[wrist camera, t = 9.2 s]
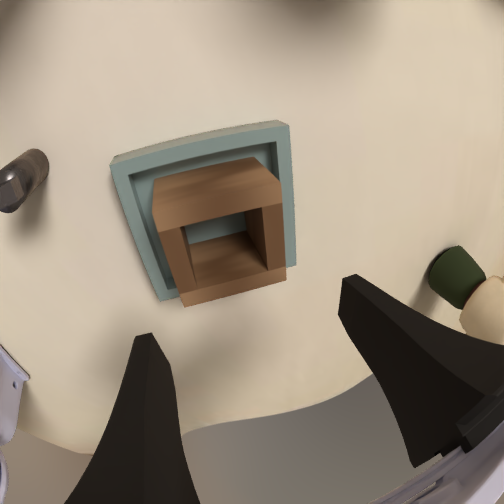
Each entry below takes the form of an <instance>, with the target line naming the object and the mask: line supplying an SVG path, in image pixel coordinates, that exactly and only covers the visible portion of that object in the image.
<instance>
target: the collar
mask: <svg viewBox="0 0 504 504" xmlns="http://www.w3.org/2000/svg"><path fill="white" fill-rule="evenodd" d="M243 211H244V215H245V222H246V229H247V230H245V231H241V232H237V233H233V234H229V235H225V236H221V237H217V238H213V239H209V240H205V241H201V242H197V243H193V244H189V242H188V239H187V235H186V231H185V227H184V226H185V225H189V224H193V223H197V222H201V221H205V220H209V219H213V218H217V217H222V216H226V215H230V214H234V213H238V212H243ZM152 214H153V218H154V221H155V224H156V227H157V231H158V234H159V237H160V240H161V243H162V246H163V249H164V252H165V255H166V258H167V261H168V264H169V267H170V270H171V273H172V275H173V278H174V281H175V284H176V287H177V289H178V292H179V295H180V297H181V300H182V303H183V305H184V307H188V306H192V305H196V304H200V303H204V302H208V301H212V300H216V299H219V298H223V297H227V296H231V295H235V294H238V293H242V292H246V291H249V290H253V289H257V288H260V287H264V286H268V285H271V284H275V283H278V282H282V281H285V280H286V258H285V238H284V220H283V203H282V188H281V182H280V181H279V180H278V179H277V178H276V177H275V176H274V175H273V174H272V173H271V172H270V171H268V170H267V169H266V168H265V167H264V166H263V165H262V164H261V163H260V162H259V161H258V160H257V159H256V158H255V157H248V158H243V159H238V160H233V161H228V162H223V163H218V164H214V165H209V166H204V167H200V168H196V169H191V170H187V171H183V172H179V173H175V174H171V175H167V176H163V177H159V178H156V179H154V188H153V204H152Z"/></svg>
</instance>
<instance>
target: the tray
mask: <svg viewBox="0 0 504 504" xmlns="http://www.w3.org/2000/svg"><path fill="white" fill-rule="evenodd" d="M248 157H255V158H256V159H257V160H258V161H259V162H260V163H261V164H262V165H263V166H264V167H265V168H266V169H267V170H268V171H270V172H271V173H272V174H273V175H274V176H275V177H276V178H277V179H278V180H279V181H280V182H281V188H282V203H283V220H284V238H285V258H286V268H288V267H291V266H295V265H296V238H295V213H294V192H293V174H292V158H291V144H290V130H289V125H288V124H286V123H283V122H281V121H279V120H273V121H266V122H259V123H253V124H247V125H241V126H235V127H229V128H224V129H219V130H214V131H209V132H204V133H200V134H195V135H191V136H186V137H182V138H178V139H174V140H170V141H166V142H162V143H158V144H155V145H151V146H147V147H144V148H140V149H137V150H133V151H130V152H127V153H123V154H120V155H117V156H114V158H113V160H112V162H111V163H110V165H109V166H110V169H111V173H112V176H113V179H114V182H115V185H116V189H117V192H118V195H119V198H120V201H121V204H122V207H123V209H124V212H125V215H126V218H127V221H128V224H129V226H130V229H131V232H132V234H133V237H134V240H135V242H136V245H137V248H138V250H139V253H140V255H141V258H142V260H143V263H144V265H145V268H146V270H147V273H148V275H149V277H150V280H151V282H152V284H153V287H154V289H155V291H156V294H157V296H158V298H159V300H160V301H164V300H168V299H172V298H176V297H180V295H179V292H178V289H177V287H176V284H175V281H174V278H173V275H172V273H171V270H170V267H169V264H168V261H167V258H166V255H165V252H164V249H163V246H162V243H161V240H160V237H159V234H158V231H157V227H156V224H155V221H154V218H153V214H152V204H153V188H154V179H156V178H159V177H163V176H167V175H171V174H175V173H179V172H183V171H187V170H191V169H196V168H200V167H204V166H209V165H214V164H218V163H223V162H228V161H233V160H238V159H243V158H248ZM184 227H185V231H186V235H187V239H188V242H189V244H193V243H197V242H201V241H205V240H209V239H213V238H217V237H221V236H225V235H229V234H233V233H237V232H241V231H245V230H247V229H246V222H245V215H244V211H243V212H238V213H234V214H230V215H226V216H222V217H217V218H213V219H209V220H205V221H201V222H197V223H193V224H189V225H185V226H184Z"/></svg>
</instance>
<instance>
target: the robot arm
mask: <svg viewBox="0 0 504 504" xmlns="http://www.w3.org/2000/svg"><path fill="white" fill-rule="evenodd" d="M338 316H339V318H340V320H341V322H342V324H343V326H344V328H345V330H346V332H347V334H348V336H349V337H350V339H351V340H352V342H353V343H354V345H355V346H356V348H357V349H358V351H359V353H360V354H361V355H362V357H363V358H364V360H365V362H366V363H367V365H368V366H369V368H370V369H371V371H372V372H373V374H374V375H375V377H376V378H377V380H378V382H379V383H380V385H381V387H382V389H383V391H384V393H385V395H386V397H387V400H388V402H389V404H390V406H391V408H392V411H393V413H394V415H395V418H396V420H397V423H398V425H399V428H400V431H401V433H402V436H403V439H404V442H405V445H406V448H407V452H408V455H409V459H410V462H411V464H412V465H413V467H414V468H416V467H418V466H419V465H421V464H423V463H425V462H426V461H428V460H429V459H431V458H433V457H434V456H436V455H437V454H439V453H441V455H442V456H443V458H442V459H441V460H439V461H438V462H436V463H435V464H433V465H432V466H430V467H429V468H428V469H426V470H425V471H423V472H422V473H420V474H418V475H417V476H416V477H414V478H412V479H411V480H409V481H407V482H406V483H404V484H402V485H401V486H399V487H397V488H396V489H394V490H392V491H390V492H388V493H387V494H385V495H383V496H381V497H379V498H377V499H376V500H373V501H371V502H370V503H367V504H401V503H403V502H405V501H406V500H408V499H410V498H411V497H413V496H414V497H413V498H412V499H410V500H409V501H408V502H406V503H405V504H495V502H496V501H497V500H498V498H499V497H500V496H501V495H502V493H503V492H504V345H501V344H496V343H492V342H488V341H485V340H481V339H478V338H475V337H472V336H469V335H466V334H463V333H461V332H458V331H456V330H453V329H451V328H448V327H446V326H444V325H442V324H440V323H438V322H436V321H434V320H432V319H430V318H428V317H426V316H424V315H422V314H420V313H419V312H417V311H415V310H413V309H412V308H410V307H408V306H406V305H405V304H403V303H401V302H400V301H398V300H397V299H395V298H393V297H392V296H390V295H389V294H387V293H386V292H384V291H382V290H381V289H379V288H378V287H376V286H375V285H373V284H372V283H370V282H368V281H367V280H365V279H364V278H362V277H361V276H359V275H357V274H354V275H351V276H348V277H345V278H343V279H342V287H341V295H340V303H339V310H338ZM28 380H29V376H28V374H27V373H26V372H25V371H24V370H23V369H22V368H21V367H20V366H19V365H18V364H17V363H16V362H15V361H14V360H13V359H12V358H11V357H10V356H9V355H8V354H7V352H6V351H5V350H4V349H3V348H2V347H1V346H0V446H2V445H5V444H6V443H8V442H9V441H10V440H11V439H12V437H13V435H14V433H15V431H16V427H17V422H18V414H19V406H20V400H21V394H22V388H23V383H24V381H28ZM435 481H436V484H435V485H434V486H432V487H430V488H428V489H426V490H424V489H425V488H427V487H428V486H429V485H431V484H433V483H434V482H435ZM8 482H9V474H8V467H7V463H6V460H5V458H4V455H3V453H2V451H1V450H0V504H4V499H5V495H6V493H7V489H8ZM422 490H424V491H422ZM421 491H422V492H421ZM419 492H421V493H419ZM418 493H419V494H418ZM416 494H417V495H416ZM415 495H416V496H415ZM64 504H200V501H199V499H198V496H197V494H196V491H195V488H194V485H193V482H192V478H191V475H190V472H189V469H188V465H187V462H186V458H185V455H184V451H183V446H182V441H181V434H180V426H179V418H178V409H177V401H176V392H175V386H174V381H173V376H172V371H171V367H170V363H169V362H168V360H167V358H166V357H165V355H164V353H163V352H162V350H161V348H160V346H159V345H158V343H157V341H156V339H155V338H154V336H153V334H152V333H147V334H143V335H139V336H136V337H135V339H134V342H133V346H132V350H131V353H130V357H129V360H128V364H127V367H126V371H125V374H124V377H123V380H122V384H121V387H120V390H119V393H118V396H117V399H116V402H115V405H114V408H113V410H112V413H111V416H110V419H109V421H108V424H107V426H106V429H105V431H104V433H103V436H102V438H101V440H100V442H99V445H98V447H97V449H96V451H95V453H94V455H93V457H92V459H91V461H90V463H89V465H88V467H87V468H86V470H85V472H84V473H83V475H82V477H81V479H80V480H79V482H78V484H77V485H76V487H75V489H74V490H73V492H72V493H71V494H70V496H69V497H68V499H67V500H66V502H65V503H64Z"/></svg>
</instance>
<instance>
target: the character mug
mask: <svg viewBox="0 0 504 504" xmlns="http://www.w3.org/2000/svg"><path fill="white" fill-rule="evenodd" d="M429 285H430V287H431V288H432V289H433V290H434V291H435V292H436V293H438V294H439V295H440V296H441V297H442V298H444V299H445V300H446V301H448V302H449V303H450V304H451V305H453V306H454V307H455V308H458V309H461V310H462V312H461V315H460V318H459V321H460V323H461V325H462V327H463V329H464V330H465V331H466V332H467V333H466V335H469V336H472V337H475V338H478V339H481V340H485V341H488V342H492V343H496V344H501V345H504V276H503V278H500V277H498V276H492V277H489V278H488V279H487V280H486V276H485V273H484V272H483V270H482V269H481V268H480V267H479V265H478V264H477V263H476V262H475V261H474V259H473V258H472V257H471V256H470V255H469V254H468V253H467V252H466V251H465V250H464V249H463V248H462V247H461V246H459V245H458V246H455V247H452V248H451V249H449V250H448V251H446V252H445V253H443V254H442V256H441V257H440V258H439V259H438V260H437V261H436V262H435V264H434V266H433V268H432V269H431V271H430V275H429Z"/></svg>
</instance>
